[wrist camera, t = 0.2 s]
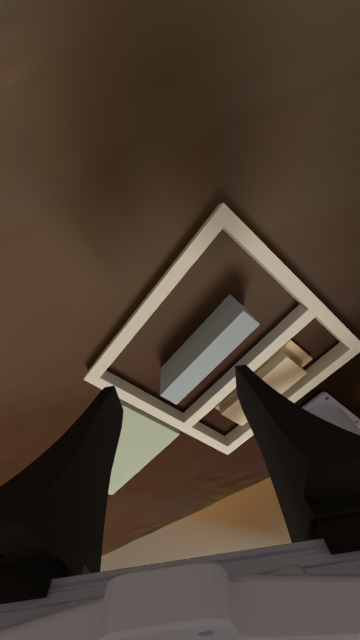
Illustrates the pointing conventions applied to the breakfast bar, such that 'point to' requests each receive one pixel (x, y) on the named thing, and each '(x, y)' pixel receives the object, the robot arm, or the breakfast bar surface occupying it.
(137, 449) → the mat
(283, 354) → the offcut upper
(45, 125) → the breakfast bar surface
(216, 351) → the grey rectangular block
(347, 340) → the rack
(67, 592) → the robot arm
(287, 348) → the offcut lower
